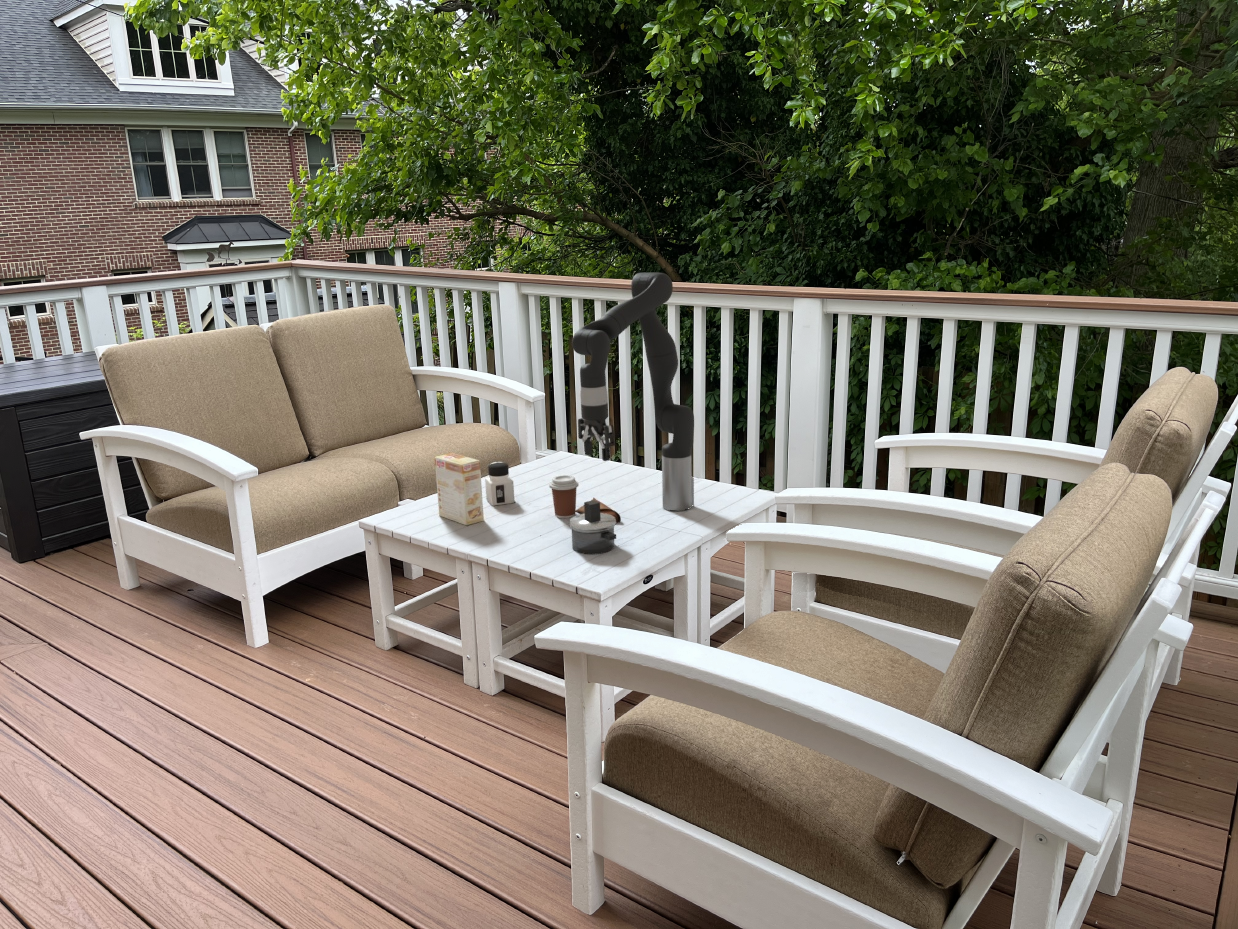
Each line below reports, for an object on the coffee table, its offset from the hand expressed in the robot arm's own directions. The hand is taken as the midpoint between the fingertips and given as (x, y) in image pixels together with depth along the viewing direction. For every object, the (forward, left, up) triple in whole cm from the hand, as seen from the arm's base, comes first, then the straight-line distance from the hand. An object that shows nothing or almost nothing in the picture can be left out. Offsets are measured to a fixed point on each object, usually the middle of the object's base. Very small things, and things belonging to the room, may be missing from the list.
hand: (597, 457), depth 268 cm
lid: (+4, +3, -18) cm, 19 cm away
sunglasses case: (-12, -19, -26) cm, 34 cm away
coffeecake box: (+21, -45, -25) cm, 56 cm away
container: (+3, -52, -25) cm, 58 cm away
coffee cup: (-5, -26, -25) cm, 37 cm away
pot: (+4, +3, -25) cm, 25 cm away
